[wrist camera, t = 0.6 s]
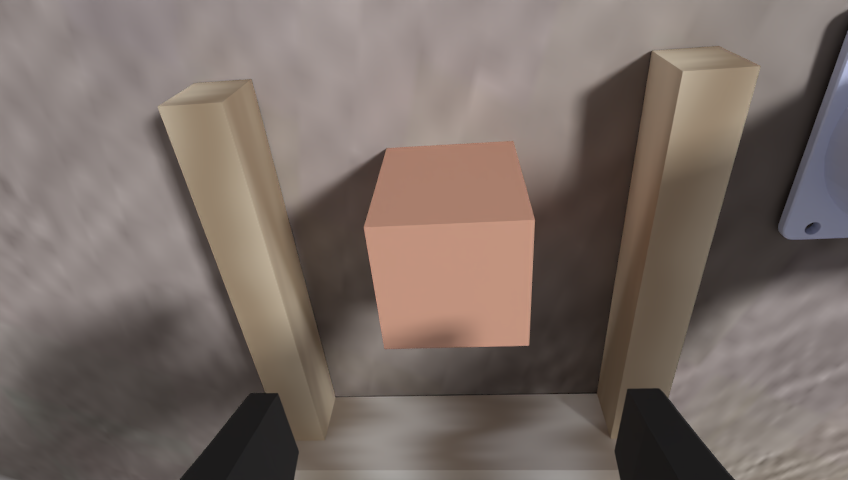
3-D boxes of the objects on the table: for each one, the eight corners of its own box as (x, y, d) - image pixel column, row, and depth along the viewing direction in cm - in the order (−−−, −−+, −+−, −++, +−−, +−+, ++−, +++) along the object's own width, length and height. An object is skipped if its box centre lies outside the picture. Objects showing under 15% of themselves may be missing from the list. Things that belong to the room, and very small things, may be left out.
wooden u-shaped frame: (718, 46, 15) (793, 81, 12) (631, 425, 25) (659, 503, 22) (194, 83, 17) (129, 124, 13) (307, 428, 27) (286, 501, 23)
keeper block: (513, 140, 17) (535, 219, 13) (511, 246, 20) (528, 345, 15) (386, 147, 18) (363, 227, 13) (400, 251, 20) (384, 348, 16)
